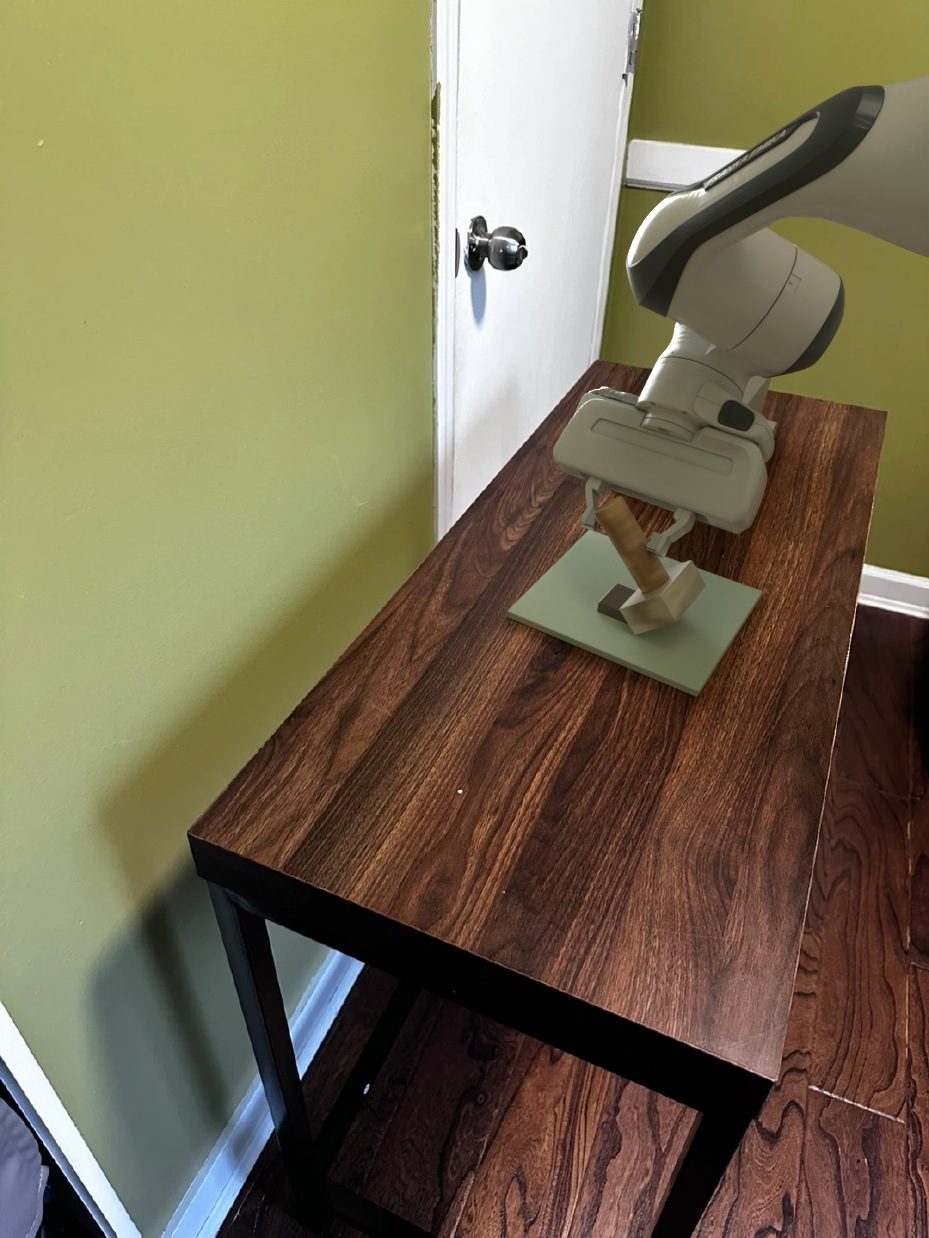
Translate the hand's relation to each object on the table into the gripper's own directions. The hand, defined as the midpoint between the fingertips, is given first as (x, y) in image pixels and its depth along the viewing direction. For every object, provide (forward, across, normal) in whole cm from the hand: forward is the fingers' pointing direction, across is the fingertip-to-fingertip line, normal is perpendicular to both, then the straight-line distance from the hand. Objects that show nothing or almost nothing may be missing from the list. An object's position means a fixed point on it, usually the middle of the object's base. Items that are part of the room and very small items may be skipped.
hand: (620, 541), depth 81 cm
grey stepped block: (-19, -7, +31) cm, 37 cm away
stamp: (+4, +6, +5) cm, 8 cm away
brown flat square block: (+5, +1, +6) cm, 8 cm away
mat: (+4, +2, +8) cm, 9 cm away
